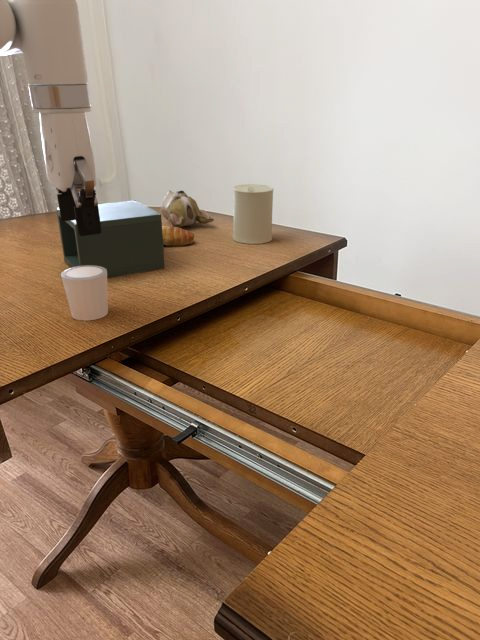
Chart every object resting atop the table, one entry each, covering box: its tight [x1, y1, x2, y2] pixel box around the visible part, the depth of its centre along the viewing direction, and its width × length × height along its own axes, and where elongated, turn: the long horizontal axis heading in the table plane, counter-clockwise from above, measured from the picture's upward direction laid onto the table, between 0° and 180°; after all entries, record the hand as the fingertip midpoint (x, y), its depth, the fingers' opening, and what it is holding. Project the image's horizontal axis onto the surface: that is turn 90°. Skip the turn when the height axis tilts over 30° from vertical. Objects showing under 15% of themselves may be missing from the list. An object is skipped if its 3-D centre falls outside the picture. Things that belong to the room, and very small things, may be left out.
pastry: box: [162, 225, 195, 247], centre depth 122 cm, size 9×7×4 cm
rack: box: [56, 199, 166, 279], centre depth 106 cm, size 16×14×11 cm
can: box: [232, 183, 274, 245], centre depth 124 cm, size 9×9×12 cm
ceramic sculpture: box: [160, 190, 215, 228], centre depth 135 cm, size 11×9×15 cm
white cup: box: [60, 265, 109, 322], centre depth 85 cm, size 7×7×7 cm
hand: (80, 226), depth 80 cm, fingers open, 9 cm apart
